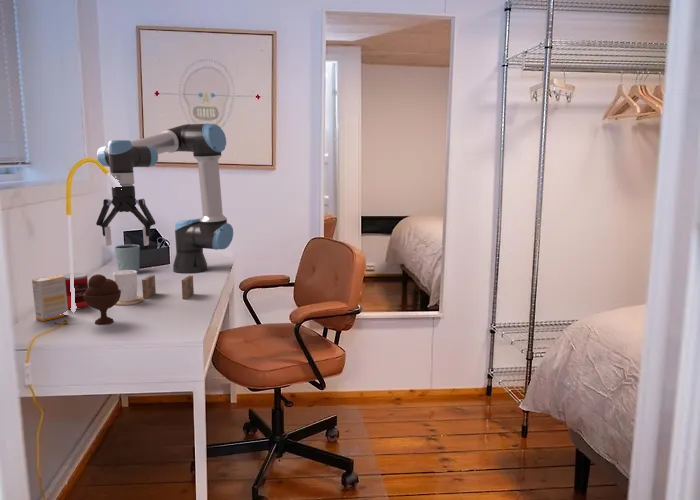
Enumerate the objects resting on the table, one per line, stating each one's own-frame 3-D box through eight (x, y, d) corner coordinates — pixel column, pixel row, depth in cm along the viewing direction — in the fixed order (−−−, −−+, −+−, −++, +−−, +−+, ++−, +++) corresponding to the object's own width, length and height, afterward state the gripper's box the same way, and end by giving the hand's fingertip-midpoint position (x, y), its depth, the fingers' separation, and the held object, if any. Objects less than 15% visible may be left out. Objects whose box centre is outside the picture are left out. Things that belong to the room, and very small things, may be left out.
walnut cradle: (151, 293, 207) (150, 275, 206) (193, 293, 207) (192, 275, 205) (143, 298, 199) (141, 279, 198) (186, 299, 199) (185, 280, 198)
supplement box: (61, 313, 180) (57, 274, 178) (68, 315, 178) (65, 276, 175) (35, 319, 174) (31, 278, 171) (42, 321, 171) (38, 280, 169)
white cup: (142, 297, 199) (141, 270, 197) (130, 303, 191) (128, 274, 189) (123, 296, 200) (121, 269, 198) (109, 301, 193) (107, 273, 191)
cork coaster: (119, 297, 201) (119, 295, 201) (148, 297, 201) (148, 296, 201) (104, 305, 190) (104, 303, 190) (135, 305, 190) (135, 303, 190)
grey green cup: (144, 270, 249) (142, 244, 247) (136, 275, 239) (134, 248, 237) (121, 270, 249) (119, 244, 247) (112, 275, 239) (111, 248, 237)
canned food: (71, 303, 192) (68, 272, 190) (93, 304, 192) (91, 273, 190) (59, 309, 185) (56, 277, 183) (82, 309, 184) (80, 277, 183)
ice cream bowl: (84, 329, 164) (80, 279, 161) (86, 319, 174) (82, 272, 171) (123, 325, 168) (119, 277, 165) (122, 315, 178) (119, 270, 176)
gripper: (82, 186, 189) (88, 246, 192) (154, 185, 188) (158, 247, 192) (93, 184, 196) (98, 243, 200) (162, 184, 195) (166, 243, 199)
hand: (127, 245), depth 196 cm, fingers open, 13 cm apart
